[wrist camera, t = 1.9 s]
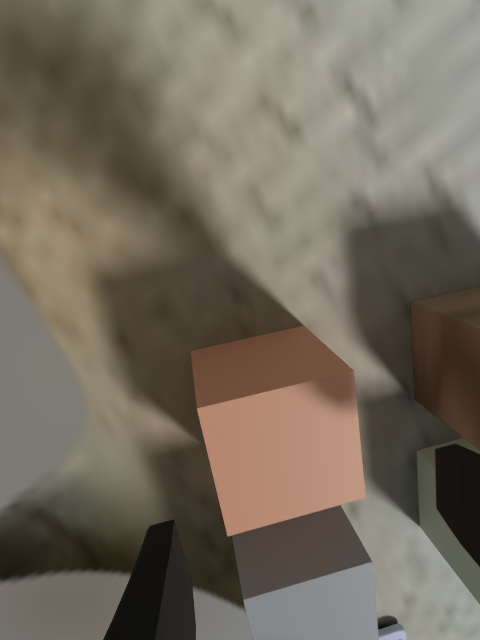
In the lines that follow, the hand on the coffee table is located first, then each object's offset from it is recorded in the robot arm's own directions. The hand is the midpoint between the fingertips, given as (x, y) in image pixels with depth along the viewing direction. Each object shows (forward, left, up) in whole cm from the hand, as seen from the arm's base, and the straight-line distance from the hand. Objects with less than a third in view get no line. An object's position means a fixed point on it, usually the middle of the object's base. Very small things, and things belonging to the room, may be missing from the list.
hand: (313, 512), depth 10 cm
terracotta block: (0, 0, -8) cm, 8 cm away
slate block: (-8, 0, -8) cm, 11 cm away
